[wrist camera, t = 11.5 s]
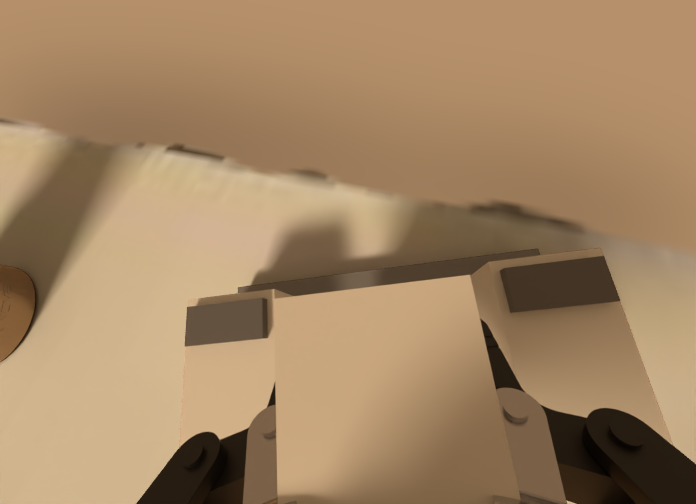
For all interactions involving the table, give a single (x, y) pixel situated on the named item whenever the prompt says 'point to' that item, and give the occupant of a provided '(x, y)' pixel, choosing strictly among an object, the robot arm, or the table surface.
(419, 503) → the block
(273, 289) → the board
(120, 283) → the table surface
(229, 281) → the table surface
